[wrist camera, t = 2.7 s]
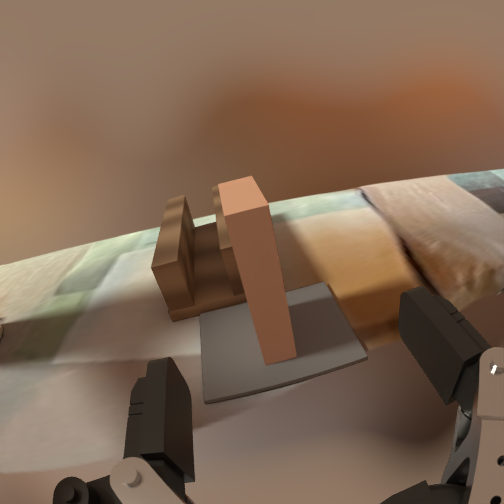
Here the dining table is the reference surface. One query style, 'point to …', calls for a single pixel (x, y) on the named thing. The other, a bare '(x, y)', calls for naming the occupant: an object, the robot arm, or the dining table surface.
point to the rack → (196, 262)
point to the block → (258, 266)
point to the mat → (249, 352)
